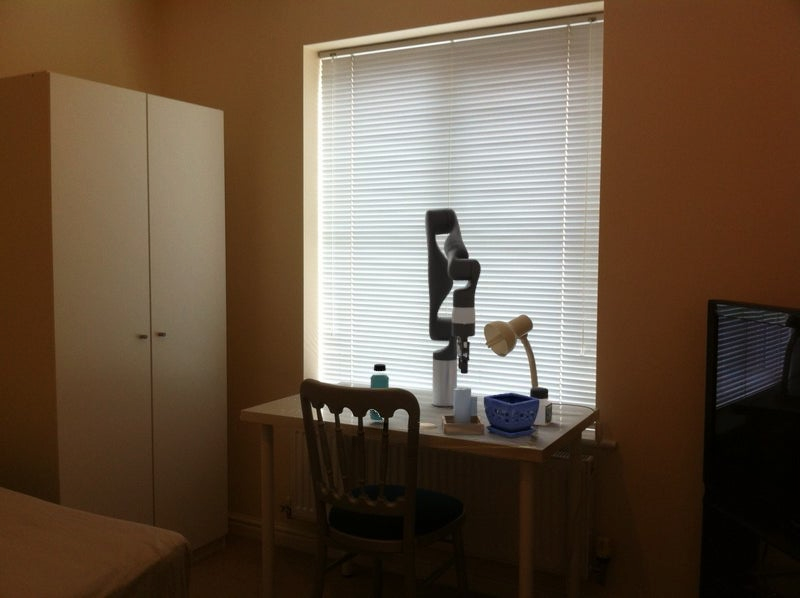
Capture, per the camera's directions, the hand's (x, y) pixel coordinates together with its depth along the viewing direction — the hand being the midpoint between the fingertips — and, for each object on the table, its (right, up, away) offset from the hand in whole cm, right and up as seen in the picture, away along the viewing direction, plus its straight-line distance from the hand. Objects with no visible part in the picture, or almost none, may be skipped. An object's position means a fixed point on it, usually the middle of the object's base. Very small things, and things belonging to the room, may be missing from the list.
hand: (462, 371), depth 234 cm
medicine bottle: (+27, -19, +12) cm, 35 cm away
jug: (0, -19, +1) cm, 19 cm away
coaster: (-13, -19, +4) cm, 24 cm away
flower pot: (+15, -20, -3) cm, 25 cm away
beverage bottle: (-27, -19, +11) cm, 35 cm away
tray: (0, -19, +1) cm, 19 cm away
